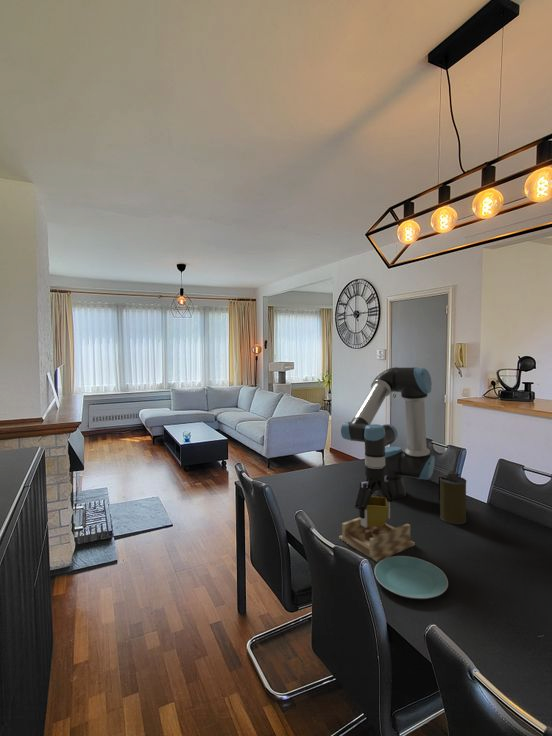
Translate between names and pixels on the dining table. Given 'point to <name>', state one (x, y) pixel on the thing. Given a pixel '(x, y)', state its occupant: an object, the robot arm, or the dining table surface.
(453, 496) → the canister
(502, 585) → the dining table surface
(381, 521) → the flower pot
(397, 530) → the peg frame
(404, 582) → the plate
